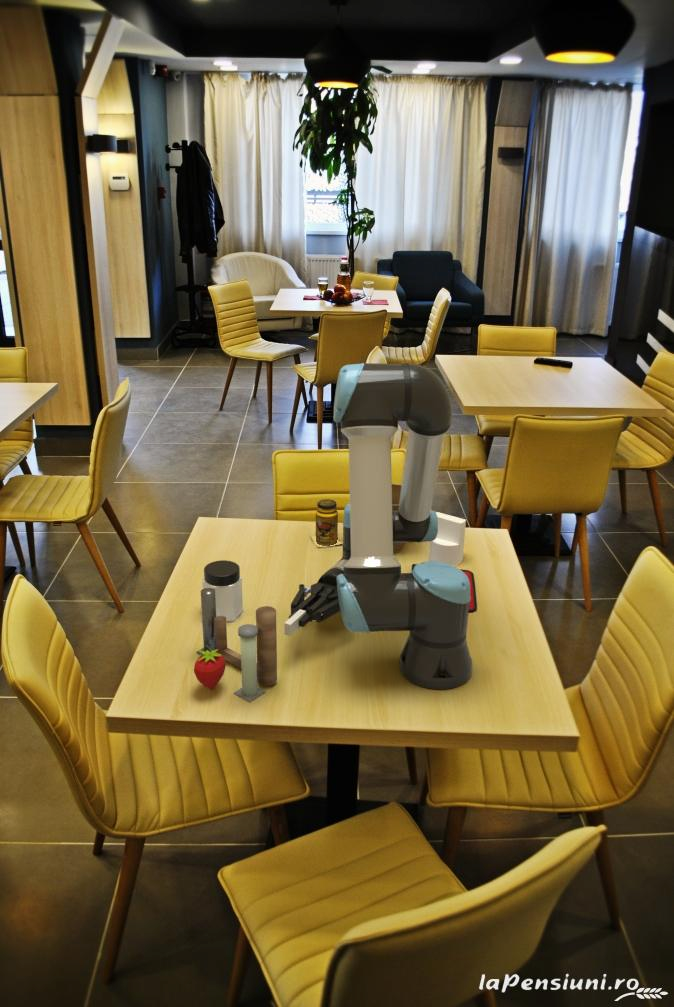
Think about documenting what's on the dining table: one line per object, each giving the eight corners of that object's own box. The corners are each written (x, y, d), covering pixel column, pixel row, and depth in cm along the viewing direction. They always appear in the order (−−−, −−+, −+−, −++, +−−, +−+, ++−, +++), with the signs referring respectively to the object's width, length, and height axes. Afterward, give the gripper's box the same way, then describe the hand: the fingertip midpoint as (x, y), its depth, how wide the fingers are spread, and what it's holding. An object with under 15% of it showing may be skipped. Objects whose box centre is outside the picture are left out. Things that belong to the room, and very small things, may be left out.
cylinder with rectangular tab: (422, 560, 225) (425, 519, 221) (438, 548, 232) (441, 508, 227) (453, 569, 221) (456, 527, 216) (468, 557, 227) (472, 516, 223)
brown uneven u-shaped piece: (211, 657, 180) (207, 590, 174) (225, 649, 183) (222, 583, 176) (267, 687, 170) (266, 618, 164) (281, 679, 173) (280, 610, 167)
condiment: (317, 548, 231) (318, 508, 226) (309, 536, 238) (309, 496, 233) (343, 545, 233) (344, 505, 228) (334, 533, 240) (334, 493, 235)
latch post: (265, 692, 170) (264, 628, 164) (249, 702, 167) (247, 638, 161) (249, 683, 173) (248, 621, 167) (234, 693, 169) (231, 629, 164)
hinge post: (225, 651, 183) (222, 590, 177) (210, 660, 180) (207, 598, 174) (211, 644, 186) (208, 584, 180) (196, 652, 183) (192, 591, 177)
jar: (241, 603, 203) (240, 558, 198) (244, 621, 195) (242, 574, 190) (203, 606, 201) (201, 561, 196) (204, 624, 194) (202, 577, 189)
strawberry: (188, 696, 168) (186, 653, 164) (206, 675, 175) (204, 634, 171) (215, 702, 167) (213, 659, 163) (232, 682, 173) (231, 640, 169)
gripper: (364, 603, 194) (314, 653, 175) (314, 589, 199) (261, 637, 180) (365, 574, 191) (315, 621, 172) (314, 561, 196) (260, 606, 177)
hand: (287, 629), depth 176 cm, fingers closed
